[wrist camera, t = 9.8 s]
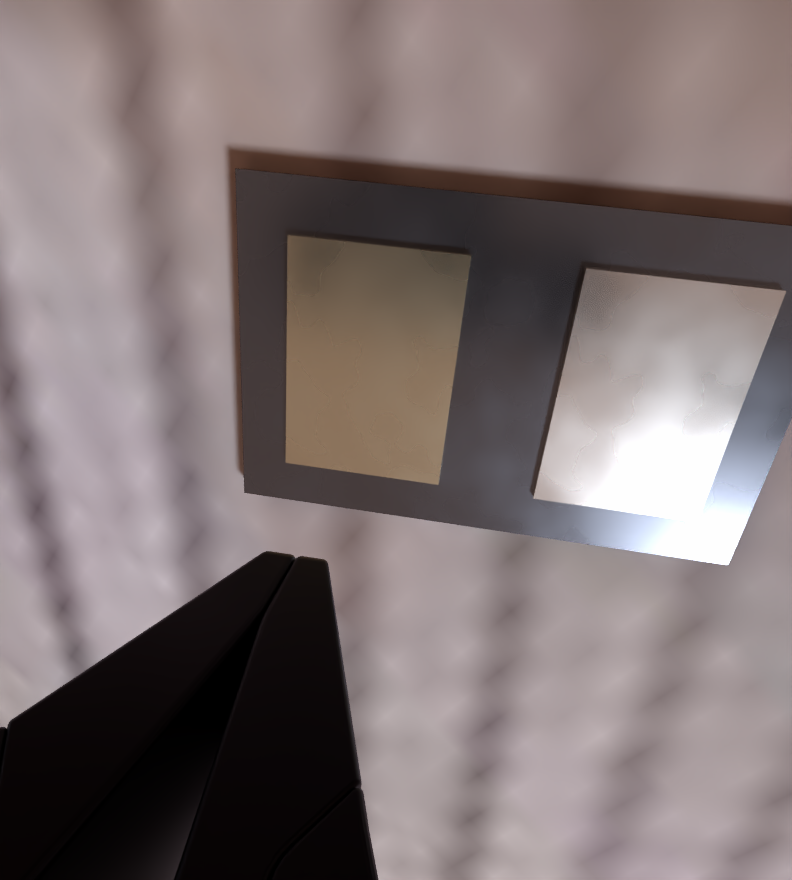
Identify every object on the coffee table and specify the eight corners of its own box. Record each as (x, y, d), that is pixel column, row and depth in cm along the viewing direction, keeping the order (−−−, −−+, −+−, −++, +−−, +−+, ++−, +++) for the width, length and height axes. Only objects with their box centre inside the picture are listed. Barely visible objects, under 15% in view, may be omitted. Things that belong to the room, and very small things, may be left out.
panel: (720, 554, 18) (730, 569, 18) (251, 484, 20) (242, 495, 19) (855, 232, 14) (876, 235, 13) (244, 169, 15) (232, 168, 15)
